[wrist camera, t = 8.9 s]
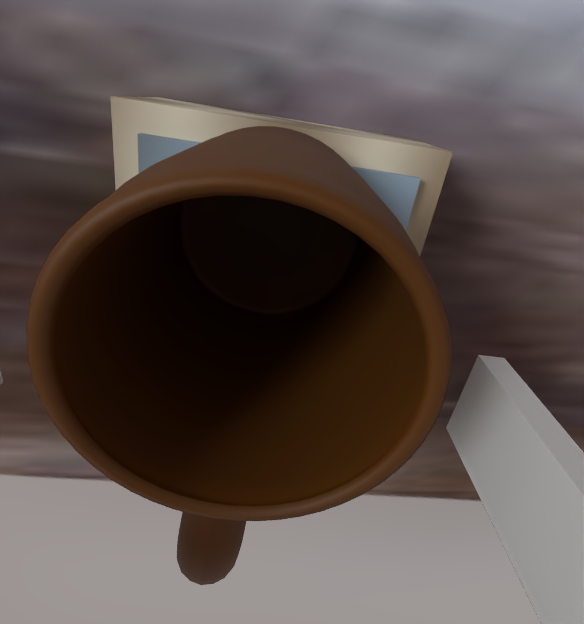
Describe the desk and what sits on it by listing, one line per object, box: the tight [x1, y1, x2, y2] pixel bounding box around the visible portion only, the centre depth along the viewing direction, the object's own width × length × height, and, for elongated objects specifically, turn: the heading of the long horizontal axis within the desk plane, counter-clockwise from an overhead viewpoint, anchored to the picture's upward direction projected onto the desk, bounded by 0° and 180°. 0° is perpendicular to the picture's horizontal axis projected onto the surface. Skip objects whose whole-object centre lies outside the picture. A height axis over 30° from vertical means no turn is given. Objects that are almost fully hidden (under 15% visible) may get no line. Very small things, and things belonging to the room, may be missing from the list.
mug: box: [27, 126, 452, 585], centre depth 12 cm, size 12×8×9 cm, turn 168°
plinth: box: [111, 96, 453, 256], centre depth 19 cm, size 12×12×6 cm
